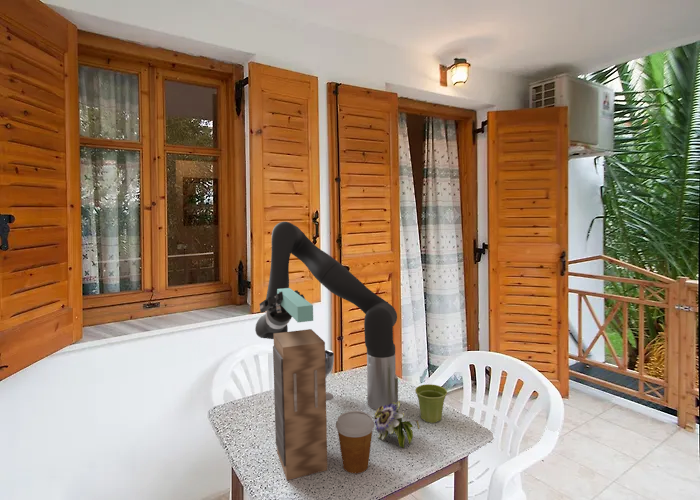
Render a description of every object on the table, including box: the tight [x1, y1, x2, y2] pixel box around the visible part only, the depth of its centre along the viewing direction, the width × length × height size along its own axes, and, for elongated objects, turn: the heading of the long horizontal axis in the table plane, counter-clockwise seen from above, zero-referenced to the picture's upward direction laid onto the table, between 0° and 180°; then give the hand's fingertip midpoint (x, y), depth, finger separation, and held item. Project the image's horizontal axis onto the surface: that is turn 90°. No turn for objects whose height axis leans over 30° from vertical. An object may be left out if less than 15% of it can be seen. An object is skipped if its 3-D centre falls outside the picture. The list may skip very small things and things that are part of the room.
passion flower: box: [373, 400, 421, 449], centre depth 112 cm, size 11×11×12 cm
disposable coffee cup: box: [335, 410, 375, 475], centre depth 99 cm, size 10×10×12 cm
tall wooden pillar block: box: [272, 328, 328, 481], centre depth 100 cm, size 10×12×32 cm
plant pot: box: [414, 383, 448, 424], centre depth 122 cm, size 9×9×9 cm
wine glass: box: [325, 349, 335, 402], centre depth 138 cm, size 8×8×15 cm
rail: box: [277, 287, 314, 323], centre depth 102 cm, size 4×24×4 cm, turn 21°
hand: (289, 294), depth 106 cm, fingers closed on rail, 3 cm apart
